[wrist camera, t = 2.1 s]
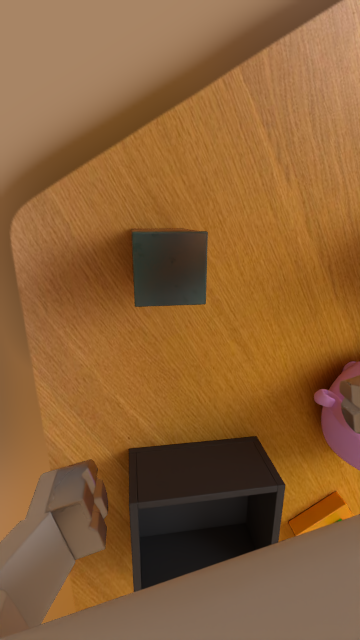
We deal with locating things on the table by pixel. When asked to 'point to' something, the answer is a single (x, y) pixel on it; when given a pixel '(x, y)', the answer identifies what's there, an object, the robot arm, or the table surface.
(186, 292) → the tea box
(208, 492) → the dark brown box
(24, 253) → the table surface
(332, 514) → the orange square platform
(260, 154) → the table surface
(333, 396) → the teapot
